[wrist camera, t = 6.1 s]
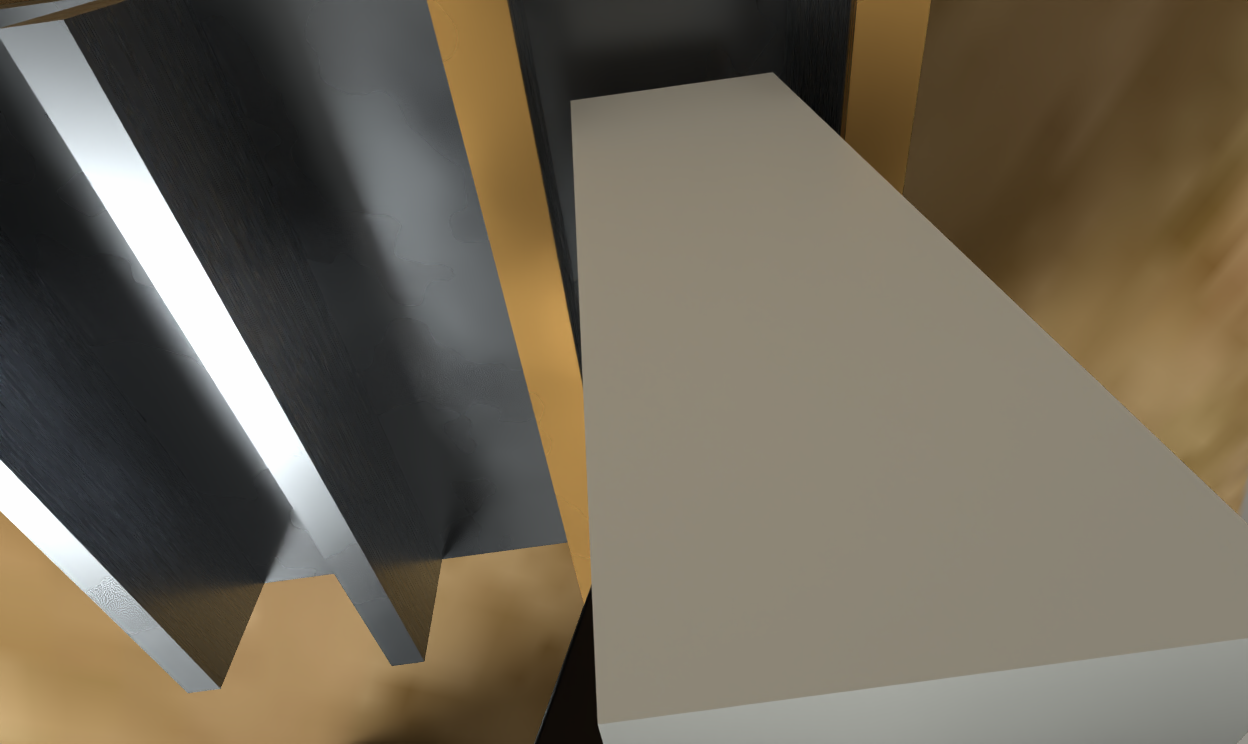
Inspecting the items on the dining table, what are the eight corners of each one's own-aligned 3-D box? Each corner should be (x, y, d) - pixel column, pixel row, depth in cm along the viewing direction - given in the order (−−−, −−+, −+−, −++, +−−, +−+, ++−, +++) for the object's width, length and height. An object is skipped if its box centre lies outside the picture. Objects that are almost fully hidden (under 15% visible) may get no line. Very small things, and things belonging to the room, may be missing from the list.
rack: (793, 483, 19) (843, 613, 16) (246, 557, 19) (180, 701, 16) (829, -114, 11) (950, -106, 7) (-148, 26, 11) (-463, 95, 8)
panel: (763, 519, 16) (931, 1055, 9) (638, 536, 16) (702, 1085, 9) (772, 71, 10) (1352, 623, 3) (570, 100, 10) (598, 724, 3)
